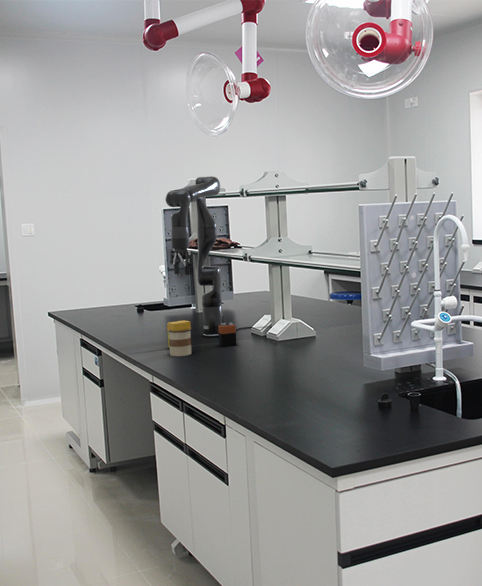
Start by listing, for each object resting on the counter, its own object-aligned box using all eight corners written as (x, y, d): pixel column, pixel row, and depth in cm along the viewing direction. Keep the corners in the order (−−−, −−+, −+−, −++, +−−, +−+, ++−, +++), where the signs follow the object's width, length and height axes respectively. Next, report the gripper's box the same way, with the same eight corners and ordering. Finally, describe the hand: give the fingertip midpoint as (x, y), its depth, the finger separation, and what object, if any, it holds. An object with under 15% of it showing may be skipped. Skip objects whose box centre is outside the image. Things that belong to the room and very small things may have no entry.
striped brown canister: (184, 350, 301) (183, 326, 300) (197, 353, 294) (195, 328, 293) (164, 354, 295) (163, 329, 294) (176, 357, 288) (175, 332, 286)
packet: (184, 327, 298) (184, 320, 297) (190, 328, 294) (190, 321, 294) (167, 329, 292) (167, 322, 292) (174, 331, 289) (173, 323, 288)
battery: (218, 345, 311) (217, 323, 310) (233, 343, 314) (232, 321, 313) (222, 347, 307) (221, 324, 306) (236, 345, 310) (235, 322, 309)
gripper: (196, 236, 301) (198, 274, 303) (179, 236, 312) (180, 272, 314) (181, 237, 297) (183, 276, 298) (164, 237, 307) (166, 274, 309)
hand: (182, 274), depth 306 cm, fingers open, 8 cm apart
